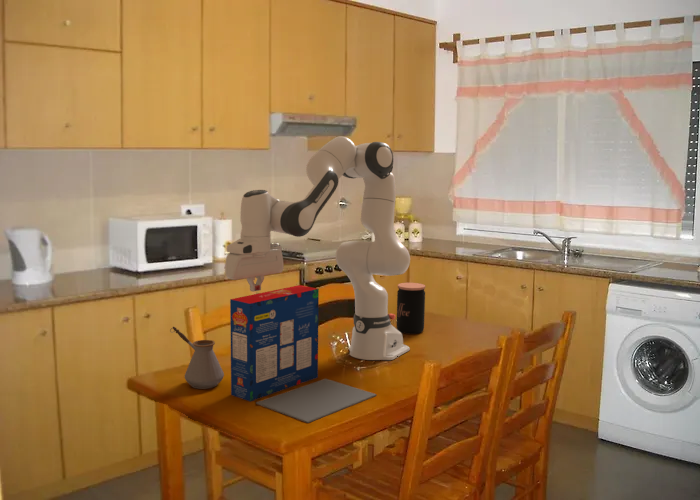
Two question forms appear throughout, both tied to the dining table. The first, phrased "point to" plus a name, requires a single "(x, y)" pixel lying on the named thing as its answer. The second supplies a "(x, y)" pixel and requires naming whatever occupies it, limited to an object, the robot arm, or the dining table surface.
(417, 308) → the coffee jar
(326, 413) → the mat
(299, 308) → the cereal box
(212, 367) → the coffee pot
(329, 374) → the dining table surface
